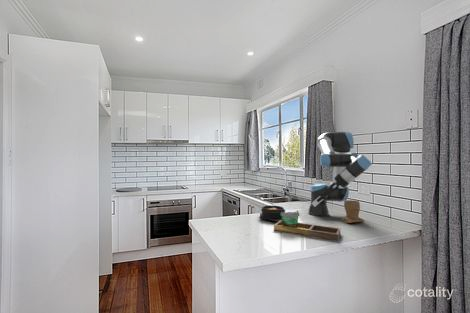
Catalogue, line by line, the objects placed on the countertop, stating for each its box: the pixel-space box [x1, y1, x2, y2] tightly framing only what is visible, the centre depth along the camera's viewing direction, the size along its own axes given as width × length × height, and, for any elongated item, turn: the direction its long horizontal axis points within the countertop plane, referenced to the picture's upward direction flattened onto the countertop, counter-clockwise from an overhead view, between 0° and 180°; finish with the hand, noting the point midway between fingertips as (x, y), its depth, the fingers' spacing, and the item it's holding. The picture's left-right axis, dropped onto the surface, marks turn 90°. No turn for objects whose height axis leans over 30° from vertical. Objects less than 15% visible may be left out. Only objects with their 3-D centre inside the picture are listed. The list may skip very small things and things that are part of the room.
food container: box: [281, 210, 300, 228], centre depth 151 cm, size 12×6×10 cm, turn 113°
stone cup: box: [341, 199, 365, 224], centre depth 174 cm, size 15×12×15 cm
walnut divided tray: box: [273, 220, 341, 242], centre depth 148 cm, size 13×36×4 cm, turn 62°
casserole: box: [259, 205, 286, 222], centre depth 178 cm, size 25×19×8 cm
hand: (315, 202), depth 145 cm, fingers open, 13 cm apart
